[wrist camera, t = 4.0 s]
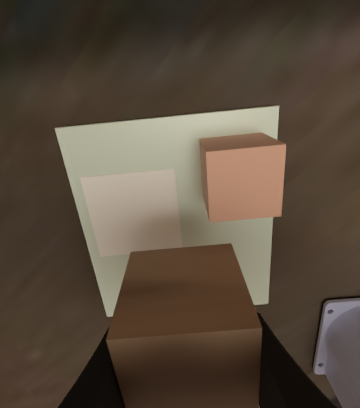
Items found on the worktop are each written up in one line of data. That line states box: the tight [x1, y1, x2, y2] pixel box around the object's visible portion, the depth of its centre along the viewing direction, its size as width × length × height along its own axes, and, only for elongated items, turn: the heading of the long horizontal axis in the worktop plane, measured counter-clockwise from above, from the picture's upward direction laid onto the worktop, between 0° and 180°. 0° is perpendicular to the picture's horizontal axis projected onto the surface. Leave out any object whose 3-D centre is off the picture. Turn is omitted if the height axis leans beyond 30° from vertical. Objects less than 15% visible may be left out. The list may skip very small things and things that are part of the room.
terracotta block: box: [199, 132, 286, 223], centre depth 16 cm, size 4×4×4 cm
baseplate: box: [55, 105, 279, 317], centre depth 20 cm, size 16×14×1 cm
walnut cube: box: [106, 243, 262, 408], centre depth 12 cm, size 5×5×5 cm
